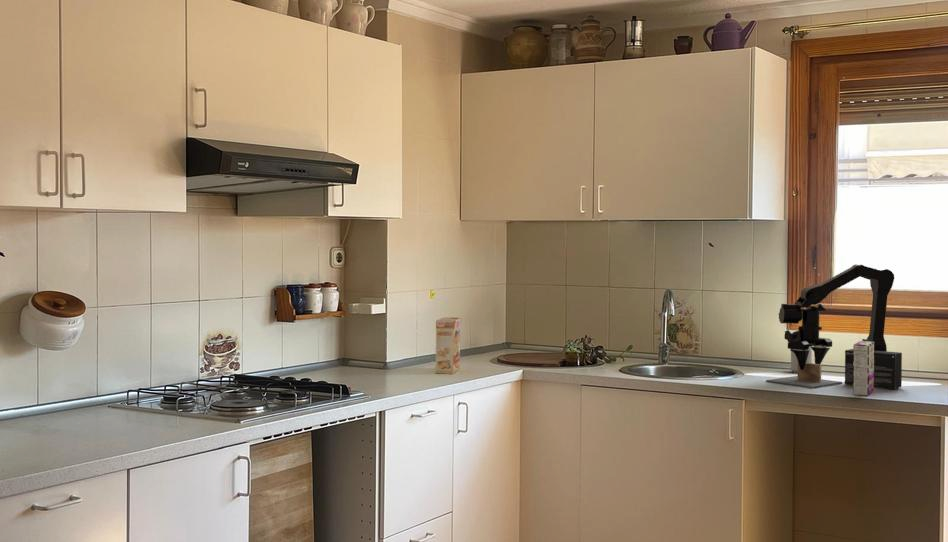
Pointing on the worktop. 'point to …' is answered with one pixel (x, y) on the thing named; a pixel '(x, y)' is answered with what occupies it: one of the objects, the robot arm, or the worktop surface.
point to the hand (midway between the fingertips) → (809, 368)
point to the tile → (810, 372)
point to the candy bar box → (863, 368)
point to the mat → (803, 382)
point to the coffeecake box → (448, 345)
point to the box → (879, 369)
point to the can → (795, 362)
